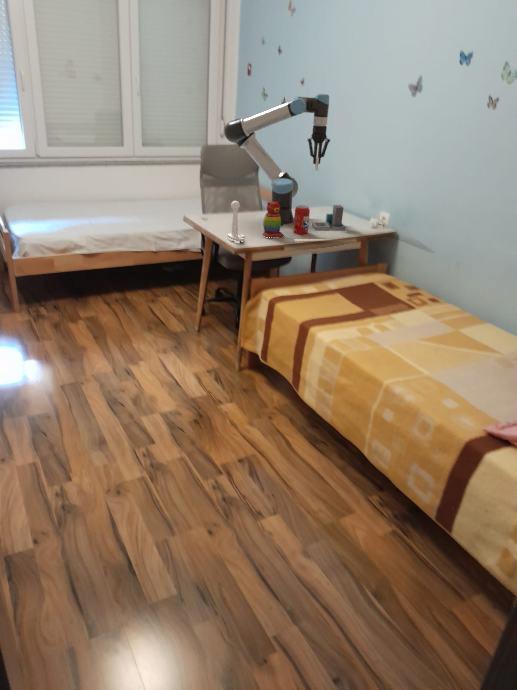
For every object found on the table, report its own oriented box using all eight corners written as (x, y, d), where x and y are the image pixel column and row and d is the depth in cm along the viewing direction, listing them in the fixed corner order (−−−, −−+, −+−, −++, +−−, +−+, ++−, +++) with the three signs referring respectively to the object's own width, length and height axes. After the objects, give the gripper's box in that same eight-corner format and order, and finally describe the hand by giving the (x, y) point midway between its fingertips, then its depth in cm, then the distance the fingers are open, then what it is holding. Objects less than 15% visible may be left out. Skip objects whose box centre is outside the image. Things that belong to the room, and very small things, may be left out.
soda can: (291, 232, 284) (293, 204, 277) (305, 232, 286) (307, 204, 279) (295, 236, 277) (297, 208, 270) (309, 236, 279) (312, 208, 272)
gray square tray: (317, 234, 284) (317, 228, 282) (309, 225, 298) (310, 220, 297) (347, 234, 286) (348, 228, 285) (338, 225, 301) (338, 220, 300)
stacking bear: (266, 239, 271) (268, 204, 263) (258, 233, 279) (260, 200, 271) (285, 237, 275) (287, 203, 267) (276, 232, 283) (278, 199, 275)
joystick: (225, 238, 270) (226, 198, 260) (238, 236, 273) (239, 197, 264) (236, 244, 262) (237, 203, 252) (249, 242, 265) (250, 202, 256)
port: (331, 230, 288) (332, 219, 285) (325, 224, 299) (326, 213, 296) (345, 230, 289) (346, 219, 286) (338, 224, 300) (339, 213, 297)
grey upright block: (333, 229, 290) (336, 207, 284) (330, 226, 295) (333, 204, 290) (340, 229, 290) (343, 207, 285) (337, 226, 296) (340, 205, 290)
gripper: (310, 125, 282) (306, 170, 293) (333, 126, 284) (328, 171, 295) (306, 124, 289) (303, 168, 300) (329, 124, 291) (325, 168, 302)
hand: (315, 169), depth 298 cm, fingers closed
